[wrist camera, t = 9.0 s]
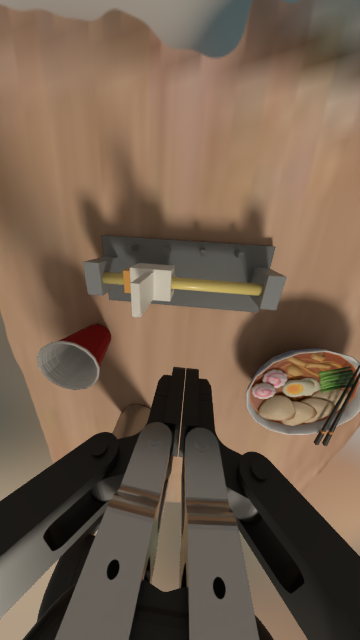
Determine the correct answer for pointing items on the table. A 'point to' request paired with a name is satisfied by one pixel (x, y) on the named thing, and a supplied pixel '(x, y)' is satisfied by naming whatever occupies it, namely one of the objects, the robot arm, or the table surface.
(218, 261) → the cable comb fixture
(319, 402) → the ramen bowl
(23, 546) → the robot arm
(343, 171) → the table surface
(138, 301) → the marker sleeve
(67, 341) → the plastic cup
